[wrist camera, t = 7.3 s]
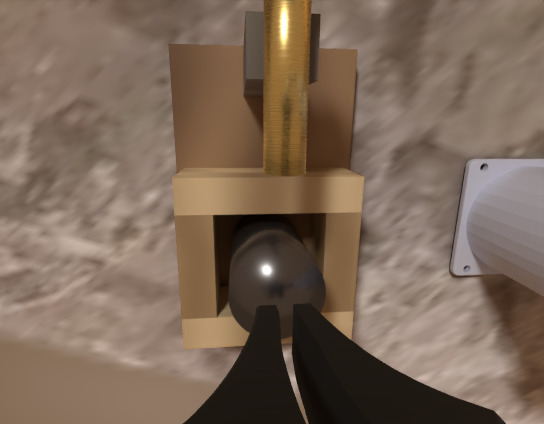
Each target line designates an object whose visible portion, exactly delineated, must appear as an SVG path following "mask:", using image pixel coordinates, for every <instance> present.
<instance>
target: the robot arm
mask: <svg viewBox="0 0 544 424" xmlns="http://www.w3.org/2000/svg"><path fill="white" fill-rule="evenodd" d="M482 164H484V167H483V169H482V170H480V167H481V165H482ZM465 266H467V267H466V269H465V270H463V268H464V267H465ZM450 270H451V272H452V273H453V274H455V275H458V276H462V275H489V274H504V275H506V276H508V277H509V278H511V279H513V280H515V281H516V282H518V283H520V284H522V285H523V286H525V287H527V288H529V289H530V290H532V291H534V292H536V293H537V294H539V295H541V296H543V297H544V159H472V160H470V161H469V162H468V163H467V165H466V169H465V175H464V182H463V188H462V195H461V201H460V207H459V214H458V220H457V226H456V233H455V239H454V246H453V252H452V258H451V265H450ZM292 357H293V364H294V370H295V376H296V381H297V384H298V388H299V392H300V395H301V399H302V402H303V405H304V409H305V412H306V416H307V419H308V422H309V424H506V423H505V422H504V421H503V420H502V419H501V418H500V416H499V415H498V414H497V413H496V412H495V411H493V410H490V409H487V408H484V407H481V406H478V405H476V404H473V403H470V402H467V401H464V400H461V399H458V398H455V397H453V396H450V395H448V394H445V393H443V392H441V391H438V390H436V389H434V388H431V387H429V386H427V385H425V384H423V383H420V382H418V381H416V380H414V379H412V378H410V377H408V376H406V375H405V374H403V373H401V372H399V371H397V370H395V369H393V368H392V367H390V366H388V365H386V364H385V363H383V362H382V361H380V360H379V359H377V358H375V357H374V356H372V355H371V354H369V353H368V352H366V351H365V350H363V349H362V348H361V347H359V346H358V345H357V344H356V343H354V342H353V341H352V340H350V339H349V338H348V337H347V336H345V335H344V334H343V333H342V332H341V331H339V330H338V329H337V328H336V327H335V326H334V325H333V324H331V323H330V322H329V321H328V320H327V319H326V318H325V317H324V316H323V315H322V314H321V313H320V312H319V311H318V310H317V309H315V308H314V307H313V306H312V305H311V304H310V303H307V304H293V330H292ZM183 424H306V423H305V420H304V418H303V415H302V413H301V411H300V408H299V405H298V403H297V400H296V397H295V394H294V391H293V388H292V385H291V382H290V378H289V375H288V372H287V368H286V364H285V361H284V357H283V352H282V343H281V329H280V316H279V311H278V309H277V306H276V305H261V306H258V307H257V308H256V314H255V319H254V323H253V326H252V329H251V331H250V334H249V336H248V339H247V341H246V343H245V345H244V347H243V349H242V351H241V353H240V355H239V357H238V358H237V360H236V362H235V364H234V365H233V367H232V368H231V370H230V371H229V373H228V374H227V376H226V377H225V378H224V380H223V381H222V382H221V384H220V385H219V386H218V388H217V389H216V390H215V391H214V393H213V394H212V395H211V396H210V397H209V399H207V400H206V401H205V403H204V404H203V405H202V406H201V407H200V408H199V409H198V410H197V411H196V412H195V413H194V414H193V415H192V416H191V417H190V418H189V419H188V420H187V421H186V422H184V423H183Z"/></svg>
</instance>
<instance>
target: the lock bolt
mask: <svg viewBox="0 0 544 424" xmlns="http://www.w3.org/2000/svg"><path fill="white" fill-rule="evenodd" d="M311 2H312V0H264V77H263V173H264V174H266V175H272V176H300V175H304V174H306V149H307V119H308V90H309V61H310V31H311Z"/></svg>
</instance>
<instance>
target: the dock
mask: <svg viewBox="0 0 544 424" xmlns="http://www.w3.org/2000/svg"><path fill="white" fill-rule="evenodd" d="M319 38H320V14H311V31H310V61H309V90H308V119H307V149H306V174H304V175H300V176H272V175H266V174H264V173H263V77H264V12H255V11H246V15H245V31H244V46H224V45H191V44H169V58H170V73H171V88H172V104H173V119H174V135H175V150H176V165H177V174H176V175H175V176H174V177H173V178H172V185H173V200H174V214H175V228H176V243H177V257H178V272H179V286H180V301H181V315H182V330H183V344H184V349H194V348H213V347H231V346H244V345H245V343H246V341H247V339H248V336H249V334H250V333H249V332H247V331H246V330H244V329H243V328H242V327H241V326H240V325H239V324H238V323H237V321H236V320H235V318H234V317H233V315H232V313H231V310H230V306H229V277H230V259H231V242H232V234H233V231H234V228H235V226H236V225H237V223H238V222H239V221H240V220H241V219H242V218H243V217H244V216H245V215H247V214H283V215H285V216H286V217H287V218H288V219H289V220H290V221H291V222H292V224H293V226H294V227H295V229H296V231H297V233H298V234H299V236H300V238H301V239H302V241H303V243H304V245H305V246H306V248H307V250H308V252H309V253H310V255H311V257H312V258H313V260H314V262H315V264H316V265H317V267H318V269H319V270H320V272H321V274H322V276H323V279H324V282H325V286H326V298H325V303H324V306H323V309H322V311H321V314H322V315H323V316H324V317H325V318H326V319H327V320H328V321H329V322H330V323H331V324H333V325H334V326H335V327H336V328H337V329H338V330H339V331H341V332H342V333H343V334H344V335H345V336H347V337H348V338H349V339H350V340H351V339H352V326H353V314H354V301H355V289H356V276H357V263H358V251H359V238H360V226H361V213H362V201H363V188H364V176H361V175H359V174H357V173H354V172H352V171H350V170H349V168H350V153H351V138H352V123H353V109H354V94H355V79H356V64H357V50H356V49H323V48H319ZM281 343H282V344H286V343H292V337H289V338H285V339H281Z"/></svg>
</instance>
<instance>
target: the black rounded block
mask: <svg viewBox="0 0 544 424" xmlns="http://www.w3.org/2000/svg"><path fill="white" fill-rule="evenodd" d="M325 298H326V286H325V282H324V279H323V276H322V274H321V272H320V270H319V269H318V267H317V265H316V264H315V262H314V260H313V258H312V257H311V255H310V253H309V252H308V250H307V248H306V246H305V245H304V243H303V241H302V239H301V238H300V236H299V234H298V233H297V231H296V229H295V227H294V226H293V224H292V222H291V221H290V220H289V219H288V218H287V217H286V216H285V215H283V214H247V215H245V216H244V217H243V218H242V219H241V220H240V221H239V222H238V223H237V225H236V226H235V228H234V231H233V234H232V242H231V259H230V277H229V306H230V310H231V313H232V315H233V317H234V318H235V320H236V321H237V323H238V324H239V325H240V326H241V327H242V328H243V329H244V330H246V331H247V332H249V333H250V331H251V329H252V326H253V323H254V319H255V314H256V308H257V307H258V306H261V305H276V306H277V309H278V311H279V316H280V329H281V339H285V338H289V337H292V330H293V304H307V303H310V304H311V305H312V306H313V307H314V308H315V309H317V310H318V311H319V312H320V313H321V311H322V309H323V306H324V303H325Z"/></svg>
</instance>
